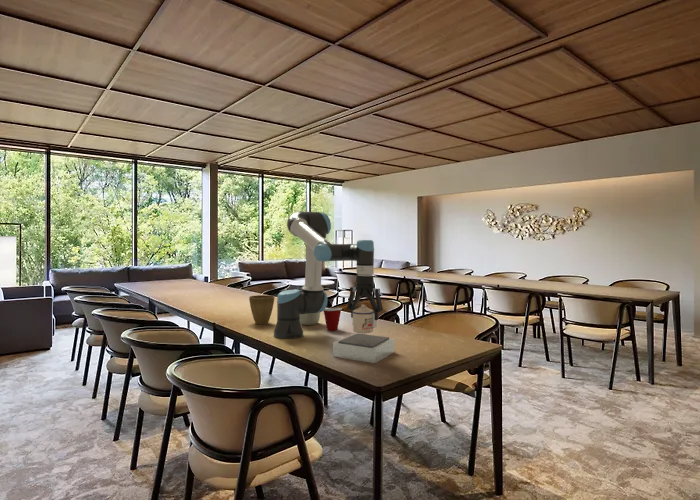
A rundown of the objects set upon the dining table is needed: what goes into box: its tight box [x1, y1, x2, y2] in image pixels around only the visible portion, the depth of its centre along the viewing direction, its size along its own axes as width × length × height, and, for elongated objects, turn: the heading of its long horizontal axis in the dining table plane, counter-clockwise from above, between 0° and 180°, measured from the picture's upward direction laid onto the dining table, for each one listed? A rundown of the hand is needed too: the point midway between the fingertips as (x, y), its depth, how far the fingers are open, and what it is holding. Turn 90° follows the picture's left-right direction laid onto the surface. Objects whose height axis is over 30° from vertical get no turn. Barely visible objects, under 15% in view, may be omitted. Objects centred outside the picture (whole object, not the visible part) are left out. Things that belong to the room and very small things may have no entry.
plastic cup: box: [322, 307, 343, 332], centre depth 236 cm, size 11×11×12 cm
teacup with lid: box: [352, 303, 374, 334], centre depth 186 cm, size 12×9×12 cm
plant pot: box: [248, 294, 275, 325], centre depth 252 cm, size 15×15×16 cm
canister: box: [300, 312, 321, 326], centre depth 252 cm, size 18×18×21 cm
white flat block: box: [332, 333, 395, 364], centre depth 189 cm, size 20×25×7 cm
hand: (364, 326), depth 186 cm, fingers closed on teacup with lid, 9 cm apart
